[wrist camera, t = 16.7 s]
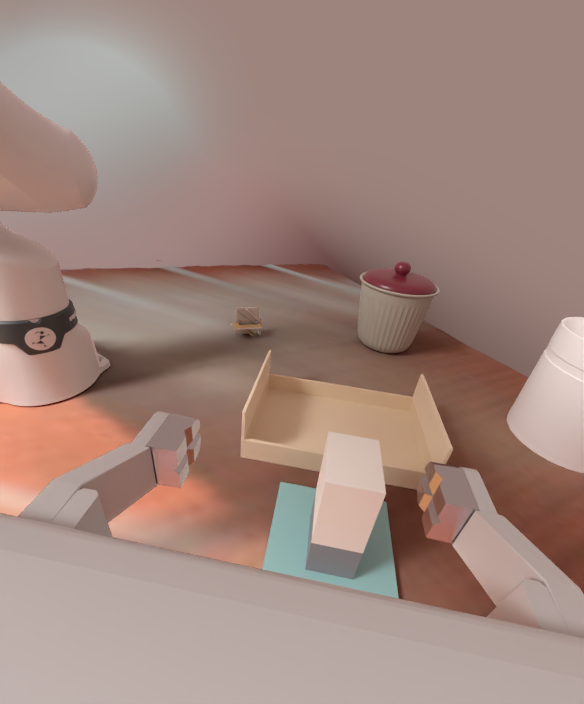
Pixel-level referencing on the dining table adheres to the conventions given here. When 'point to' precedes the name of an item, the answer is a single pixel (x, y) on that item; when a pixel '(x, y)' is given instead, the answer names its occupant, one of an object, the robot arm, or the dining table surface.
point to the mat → (292, 543)
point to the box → (345, 504)
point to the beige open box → (342, 424)
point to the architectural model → (247, 321)
